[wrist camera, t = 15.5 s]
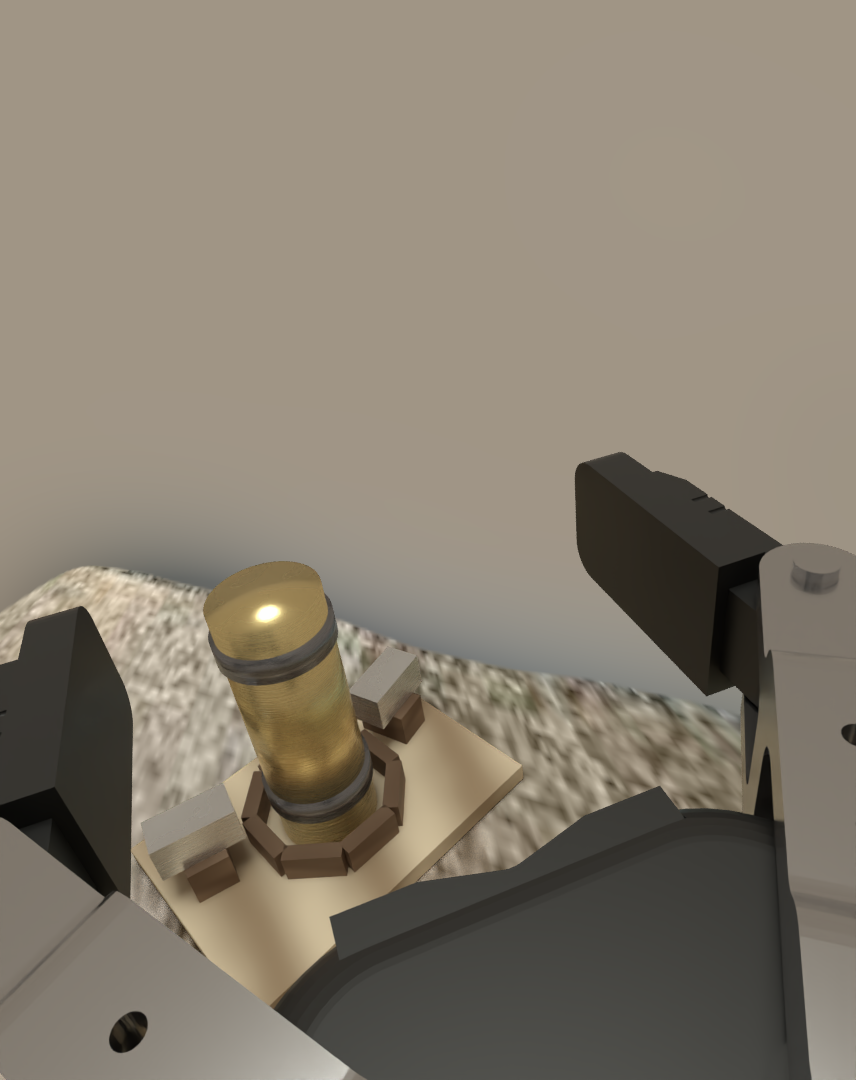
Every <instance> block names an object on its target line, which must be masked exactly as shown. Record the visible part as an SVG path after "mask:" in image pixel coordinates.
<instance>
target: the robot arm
mask: <svg viewBox="0 0 856 1080" xmlns="http://www.w3.org/2000/svg"><path fill="white" fill-rule="evenodd" d="M575 500H576V531H577V546H578V552H579V555H580V558H581V561H582V563H583V566H584V567H585V569H586V571H587V573H588V574H589V575H590V576H591V578H592V579H593V580H594V581H595V582H596V583H597V584H598V585H599V586H600V587H601V588H602V589H603V590H604V591H605V592H606V593H607V594H608V595H609V596H610V597H611V598H612V599H613V600H614V601H615V602H616V603H617V604H618V605H619V607H620V608H622V610H623V611H624V612H625V613H626V614H627V615H628V616H629V617H630V618H631V619H632V620H633V621H634V622H635V623H636V624H637V625H638V626H639V627H640V628H641V629H642V630H643V631H644V632H645V633H646V634H647V635H648V636H649V637H650V639H652V640H653V641H654V643H655V644H656V645H657V646H658V647H659V648H660V649H661V650H662V651H663V652H664V653H665V654H666V655H667V656H668V657H669V658H670V659H671V660H672V661H673V662H674V663H675V664H676V665H677V666H678V667H679V669H681V670H682V672H683V673H684V674H685V675H686V676H687V677H689V679H690V680H691V681H692V682H693V683H694V684H695V685H696V686H697V687H698V688H699V689H700V690H701V691H702V692H703V693H704V694H705V695H706V696H708V695H711V694H714V693H717V692H720V691H722V690H725V689H728V688H730V687H733V686H736V687H737V688H738V689H739V690H740V691H741V692H742V693H743V695H742V703H741V761H742V813H740V812H735V811H730V810H720V809H708V808H700V809H680V810H678V809H677V807H676V806H675V805H674V804H673V802H672V801H671V800H670V798H669V797H668V796H667V795H666V793H665V792H664V791H663V789H662V788H661V787H660V786H658V787H656V788H653V789H651V790H648V791H646V792H643V793H640V794H638V795H635V796H633V797H630V798H628V799H625V800H623V801H620V802H618V803H615V804H613V805H610V806H608V807H605V808H603V809H600V810H598V811H595V812H593V813H590V814H588V815H585V816H583V817H582V818H581V819H579V820H578V821H577V822H575V823H574V824H573V825H571V826H570V827H569V828H567V829H566V830H564V831H563V832H562V833H560V834H559V835H558V836H556V837H555V838H554V839H552V840H551V841H550V842H548V843H547V844H546V845H544V846H543V847H541V848H540V849H539V850H537V851H536V852H535V853H533V854H532V855H531V856H529V857H528V858H527V859H525V860H524V861H523V862H521V863H520V864H518V865H516V866H515V867H512V868H510V869H506V870H500V871H493V872H486V873H479V874H472V875H465V876H458V877H451V878H443V879H436V880H429V881H422V882H416V883H414V884H411V885H408V886H406V887H403V888H401V889H398V890H396V891H393V892H391V893H388V894H386V895H383V896H381V897H378V898H376V899H373V900H371V901H368V902H366V903H363V904H361V905H358V906H356V907H353V908H351V909H348V910H345V911H343V912H340V913H338V914H335V915H333V916H330V917H329V918H330V922H331V927H332V931H333V935H334V940H335V944H336V947H334V948H333V949H332V950H330V951H329V952H328V953H326V954H325V955H323V956H322V957H321V958H320V959H319V960H317V961H316V962H315V963H314V964H313V965H312V966H311V967H310V968H309V969H308V970H306V971H305V972H304V973H303V974H302V975H301V976H300V977H299V978H298V980H297V981H296V982H295V983H294V984H293V985H292V986H291V987H290V988H289V990H288V991H287V992H286V993H285V994H284V995H283V997H282V998H281V999H280V1001H279V1002H278V1003H277V1005H276V1006H275V1008H274V1009H272V1008H271V1007H270V1006H268V1005H267V1004H266V1003H265V1002H263V1001H262V1000H261V999H259V998H258V997H257V996H255V995H254V994H253V993H252V992H250V991H249V990H248V989H246V988H245V987H244V986H242V985H241V984H240V983H239V982H237V981H236V980H235V979H233V978H232V977H231V976H229V975H228V974H227V973H226V972H224V971H223V970H222V969H220V968H219V967H218V966H216V965H215V964H214V963H213V962H211V961H210V960H209V959H207V958H206V957H205V956H203V955H202V954H201V953H200V952H198V951H197V950H196V949H194V948H193V947H192V946H190V945H189V944H188V943H187V942H185V941H184V940H183V939H181V938H180V937H179V936H177V935H176V934H175V933H174V932H172V931H171V930H170V929H168V928H167V927H166V926H164V925H163V924H162V923H161V922H159V921H158V920H157V919H155V918H154V917H153V916H151V915H150V914H149V913H148V912H146V911H145V910H144V909H142V908H141V907H140V906H138V905H137V904H136V903H135V902H133V901H132V900H131V899H130V883H131V814H132V746H133V718H132V711H131V706H130V702H129V698H128V694H127V691H126V689H125V686H124V684H123V681H122V679H121V677H120V675H119V673H118V671H117V669H116V667H115V665H114V663H113V661H112V659H111V656H110V654H109V652H108V650H107V648H106V646H105V644H104V642H103V640H102V638H101V636H100V634H99V632H98V630H97V628H96V626H95V623H94V621H93V619H92V617H91V616H90V614H89V612H88V611H87V610H86V609H85V608H84V607H83V606H79V607H76V608H73V609H69V610H66V611H62V612H59V613H55V614H52V615H48V616H45V617H41V618H38V619H34V620H31V621H29V622H28V623H27V624H26V627H25V631H24V636H23V640H22V644H21V649H20V653H19V658H18V660H15V661H12V662H8V663H5V664H2V665H0V1073H1V1074H2V1075H3V1077H4V1078H5V1079H6V1080H856V556H855V555H853V554H851V553H849V552H847V551H844V550H842V549H839V548H836V547H832V546H828V545H822V544H814V543H796V544H788V545H782V544H780V543H779V542H777V541H776V540H774V539H773V538H771V537H770V536H768V535H767V534H766V533H764V532H763V531H761V530H759V529H758V528H757V527H755V526H754V525H752V524H751V523H749V522H748V521H746V520H744V519H743V518H742V517H740V516H738V515H737V514H736V513H734V512H733V511H731V510H730V509H727V510H726V509H725V506H724V505H722V504H721V503H720V502H718V501H717V500H715V499H714V498H712V497H710V498H708V496H707V494H706V493H705V492H703V491H701V490H700V489H699V488H697V487H696V486H694V485H693V484H691V483H690V482H688V481H687V480H684V479H681V478H678V477H675V476H672V475H669V474H666V473H662V472H659V471H655V472H651V471H650V470H649V469H647V468H646V467H644V466H643V465H641V464H640V463H639V462H637V461H636V460H634V459H633V458H631V457H630V456H629V455H627V454H625V453H623V452H618V453H615V454H611V455H608V456H604V457H601V458H597V459H594V460H590V461H587V462H584V463H581V464H579V465H578V467H577V469H576V472H575Z"/></svg>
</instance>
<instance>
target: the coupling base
mask: <svg viewBox="0 0 856 1080" xmlns="http://www.w3.org/2000/svg"><path fill="white" fill-rule="evenodd" d="M357 721H358V725H359V729H360V733H361V734H362V735H363V736H364V738H365V740H366V742H367V744H368V748H369V752H370V756H371V759H372V764H373V777H372V779H373V783H374V787H375V791H376V794H377V809H376V812H375V813H373V814H372V815H371V816H370V817H369V818H368V819H366V820H365V821H364V822H363V823H362V824H361V825H359V826H358V827H357V828H356V829H355V830H354V831H352V832H351V833H350V834H349V835H348V836H347V837H345V838H344V839H343V840H342V841H341V842H330V843H315V844H299V845H297V844H295V843H294V842H293V841H292V840H291V839H290V838H289V837H288V835H287V834H286V832H285V829H284V827H283V824H282V821H281V819H280V816H279V814H278V813H277V812H276V811H275V810H274V809H273V807H272V806H271V804H270V802H269V799H268V796H267V794H266V791H265V788H264V786H263V783H262V768H261V766H260V763H259V760H258V758H255V759H254V760H253V761H251V762H250V763H249V764H247V765H246V766H244V767H243V768H242V769H240V770H239V771H238V772H236V773H235V774H233V775H232V776H231V777H229V778H228V779H227V780H225V781H224V782H222V783H224V786H225V788H226V790H227V793H228V795H229V797H230V799H231V802H232V804H233V806H234V809H235V811H236V814H237V816H238V819H239V822H240V824H241V827H242V829H243V832H244V834H245V837H246V838H245V839H243V840H241V841H239V842H237V843H236V844H234V845H232V846H230V847H228V848H226V849H224V850H222V851H220V852H218V853H216V854H214V855H212V856H211V857H209V858H207V859H205V860H203V861H201V862H199V863H197V864H195V865H193V866H191V867H189V868H188V869H186V870H184V871H182V872H180V873H178V874H176V875H174V876H172V877H170V878H168V879H166V880H164V881H163V880H162V878H161V876H160V874H159V873H158V871H157V869H156V867H155V865H154V864H153V862H152V860H151V858H150V856H149V855H148V850H147V846H146V842H145V839H144V840H143V841H141V842H140V843H139V844H137V845H136V846H135V847H133V848H132V849H131V852H132V854H133V855H134V857H135V859H136V861H137V862H138V864H139V865H140V866H141V868H142V869H143V871H144V872H145V873H146V875H147V876H148V878H149V879H150V880H151V882H152V883H153V885H154V886H155V887H156V889H157V890H158V892H159V893H160V895H161V896H162V897H163V899H164V900H165V902H166V903H167V904H168V906H169V907H170V909H171V910H172V911H173V913H174V914H175V916H176V917H177V918H178V920H179V921H180V923H181V924H182V925H183V927H184V928H185V930H186V931H187V933H188V934H189V935H190V937H191V938H192V940H193V941H194V942H195V944H196V945H197V947H198V948H199V949H200V951H201V952H202V954H203V955H204V956H205V957H206V958H207V959H209V960H210V961H211V962H213V963H214V964H215V965H216V966H218V967H219V968H220V969H222V970H223V971H224V972H226V973H227V974H228V975H229V976H231V977H232V978H233V979H235V980H236V981H237V982H239V983H240V984H241V985H242V986H244V987H245V988H246V989H248V990H249V991H250V992H252V993H253V994H254V995H255V996H257V997H258V998H259V999H261V1000H262V1001H263V1002H265V1003H266V1004H267V1005H268V1006H270V1007H271V1008H272V1009H274V1008H275V1006H276V1005H277V1003H278V1002H279V1001H280V999H281V998H282V997H283V995H284V994H285V993H286V992H287V991H288V990H289V988H290V987H291V986H292V985H293V984H294V983H295V982H296V981H297V980H298V978H299V977H300V976H301V975H302V974H303V973H304V972H305V971H306V970H308V969H309V968H310V967H311V966H312V965H313V964H314V963H315V962H316V961H317V960H319V959H320V958H321V957H322V956H323V955H325V954H326V953H328V952H329V951H330V950H332V949H333V948H334V947H336V944H335V940H334V935H333V931H332V927H331V922H330V918H329V917H330V916H333V915H335V914H338V913H340V912H343V911H345V910H348V909H351V908H353V907H356V906H358V905H361V904H363V903H366V902H368V901H371V900H373V899H376V898H378V897H381V896H383V895H386V894H388V893H391V892H393V891H396V890H398V889H401V888H403V887H406V886H408V885H411V884H414V883H415V882H416V881H417V880H418V879H419V878H420V877H421V876H423V875H424V874H425V873H426V872H427V871H428V870H429V869H430V868H431V867H432V866H433V865H434V864H435V863H436V862H437V861H438V860H439V859H440V858H441V857H442V856H443V855H444V854H445V853H446V852H447V851H448V850H449V849H450V848H452V847H453V846H454V845H455V844H456V843H457V842H458V841H459V840H460V839H461V838H462V837H463V836H464V835H465V834H466V833H467V832H468V831H469V830H470V829H471V828H472V827H473V826H474V825H475V824H476V823H477V822H478V821H479V820H481V819H482V818H483V817H484V816H485V815H486V814H487V813H488V812H489V811H490V810H491V809H492V808H493V807H494V806H495V805H496V804H497V803H498V802H499V801H500V800H501V799H502V798H503V797H504V796H505V795H506V794H507V793H508V792H510V791H511V790H512V789H513V788H514V787H515V786H516V785H517V784H518V783H519V782H520V781H521V780H522V779H523V770H522V765H520V764H519V763H517V762H516V761H514V760H513V759H511V758H510V757H508V756H507V755H505V754H504V753H502V752H501V751H499V750H498V749H496V748H495V747H493V746H492V745H490V744H489V743H487V742H486V741H484V740H483V739H481V738H480V737H478V736H477V735H475V734H474V733H472V732H471V731H469V730H468V729H466V728H465V727H463V726H462V725H460V724H459V723H457V722H456V721H454V720H453V719H451V718H450V717H448V716H447V715H445V714H444V713H442V712H441V711H439V710H438V709H436V708H435V707H433V706H432V705H430V704H429V703H427V702H426V701H424V700H423V699H421V697H420V695H418V694H415V693H412V695H411V696H410V697H409V698H408V700H407V701H406V702H405V703H404V705H403V706H402V707H401V708H400V710H399V711H398V712H397V713H396V715H395V716H394V717H393V718H392V720H391V721H390V722H389V723H388V725H387V726H386V727H385V728H384V729H381V728H379V727H376V726H373V725H371V724H368V723H366V722H363V721H360V720H358V719H357Z"/></svg>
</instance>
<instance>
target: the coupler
mask: <svg viewBox="0 0 856 1080" xmlns="http://www.w3.org/2000/svg"><path fill="white" fill-rule="evenodd" d="M203 613H204V617H205V620H206V622H207V625H208V628H209V635H208V640H209V644H210V647H211V650H212V652H213V655H214V658H215V660H216V663H217V665H218V668H219V670H220V671H221V672H222V674H223V675H224V676H226V677H227V678H228V681H229V683H230V686H231V689H232V691H233V694H234V697H235V699H236V702H237V705H238V707H239V710H240V713H241V715H242V718H243V720H244V723H245V726H246V728H247V731H248V734H249V736H250V739H251V742H252V744H253V747H254V750H255V752H256V755H257V758H258V760H259V763H260V766H261V768H262V783H263V786H264V788H265V791H266V794H267V796H268V799H269V802H270V804H271V806H272V807H273V809H274V810H275V811H276V812H277V813H278V814H279V816H280V819H281V821H282V824H283V827H284V829H285V832H286V834H287V835H288V837H289V838H290V839H291V840H292V841H293V842H294V843H295V844H297V845H299V844H315V843H330V842H341V841H342V840H343V839H344V838H345V837H347V836H348V835H349V834H350V833H351V832H352V831H354V830H355V829H356V828H357V827H358V826H359V825H361V824H362V823H363V822H364V821H365V820H366V819H368V818H369V817H370V816H371V815H372V814H373V813H375V812H376V809H377V794H376V791H375V787H374V783H373V779H372V777H373V764H372V759H371V756H370V752H369V748H368V744H367V742H366V740H365V738H364V736H363V735H362V734H361V733H360V729H359V725H358V721H357V718H356V714H355V710H354V706H353V702H352V698H351V695H350V691H349V687H348V683H347V679H346V675H345V672H344V668H343V664H342V660H341V656H340V652H339V648H338V645H337V637H338V627H337V623H336V619H335V615H334V611H333V608H332V604H331V601H330V599H329V598H328V597H327V595H326V594H325V593H324V591H323V587H322V583H321V580H320V577H319V575H318V574H317V572H316V571H315V570H313V569H312V568H311V567H309V566H307V565H304V564H301V563H297V562H288V561H278V562H269V563H263V564H259V565H255V566H252V567H249V568H246V569H244V570H241V571H239V572H237V573H235V574H233V575H231V576H230V577H228V578H227V579H225V580H224V581H222V582H221V583H220V584H219V585H218V586H216V588H214V589H213V590H212V592H211V593H210V594H209V596H208V597H207V599H206V601H205V604H204V608H203Z"/></svg>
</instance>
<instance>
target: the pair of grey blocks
mask: <svg viewBox="0 0 856 1080" xmlns="http://www.w3.org/2000/svg"><path fill="white" fill-rule="evenodd" d="M421 682H422V679H421V674H420V668H419V663H418V658H417V655H414V654H411V653H407V652H404V651H401V650H398V649H394V648H391V647H387V648H386V649H385V650H384V652H383V653H382V654H381V655H380V656H379V657H378V658H377V659H376V661H375V662H374V663H373V664H372V665H371V666H370V667H369V668H368V670H367V671H366V672H365V673H364V674H363V675H362V676H361V677H360V678H359V680H358V681H357V682H356V683H355V684H354V685H353V686H352V687H351V689H350V690H349V691H350V695H351V698H352V702H353V706H354V710H355V714H356V718H357V719H358V720H360V721H363V722H366V723H368V724H371V725H373V726H376V727H379V728H381V729H384V728H385V727H386V726H387V725H388V723H389V722H390V721H391V720H392V718H393V717H394V716H395V715H396V713H397V712H398V711H399V710H400V708H401V707H402V706H403V705H404V703H405V702H406V701H407V700H408V698H409V697H410V696H411V695H412V693H413V692H414V691H415V690H416V688H417V687H418V686H419V685H420V683H421ZM141 826H142V830H143V834H144V838H145V842H146V846H147V850H148V855H149V856H150V858H151V860H152V862H153V864H154V865H155V867H156V869H157V871H158V873H159V874H160V876H161V878H162V880H163V881H164V880H166V879H168V878H170V877H172V876H174V875H176V874H178V873H180V872H182V871H184V870H186V869H188V868H189V867H191V866H193V865H195V864H197V863H199V862H201V861H203V860H205V859H207V858H209V857H211V856H212V855H214V854H216V853H218V852H220V851H222V850H224V849H226V848H228V847H230V846H232V845H234V844H236V843H237V842H239V841H241V840H243V839H245V838H246V837H245V834H244V832H243V829H242V827H241V824H240V822H239V819H238V816H237V814H236V811H235V809H234V806H233V804H232V802H231V799H230V797H229V795H228V793H227V790H226V788H225V786H224V783H221V784H219V785H217V786H215V787H213V788H211V789H209V790H207V791H205V792H203V793H201V794H199V795H197V796H195V797H193V798H191V799H188V800H186V801H184V802H182V803H180V804H178V805H176V806H174V807H172V808H170V809H168V810H166V811H164V812H162V813H160V814H158V815H156V816H154V817H152V818H150V819H148V820H145V821H143V822H141Z"/></svg>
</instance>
